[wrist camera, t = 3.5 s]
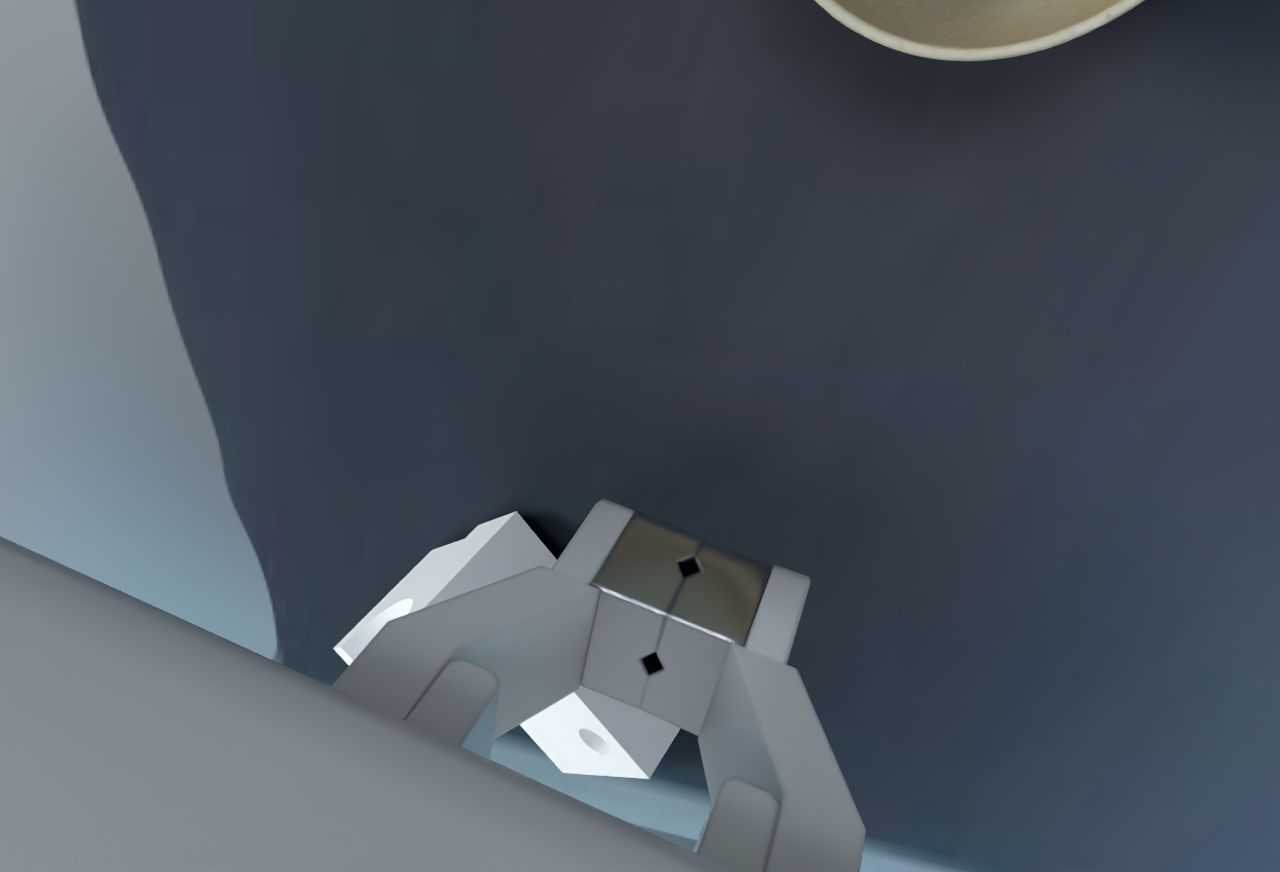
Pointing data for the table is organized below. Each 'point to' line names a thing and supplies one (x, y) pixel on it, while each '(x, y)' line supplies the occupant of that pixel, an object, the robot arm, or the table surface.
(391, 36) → the table surface
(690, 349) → the table surface
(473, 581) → the bracket
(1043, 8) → the flower pot
